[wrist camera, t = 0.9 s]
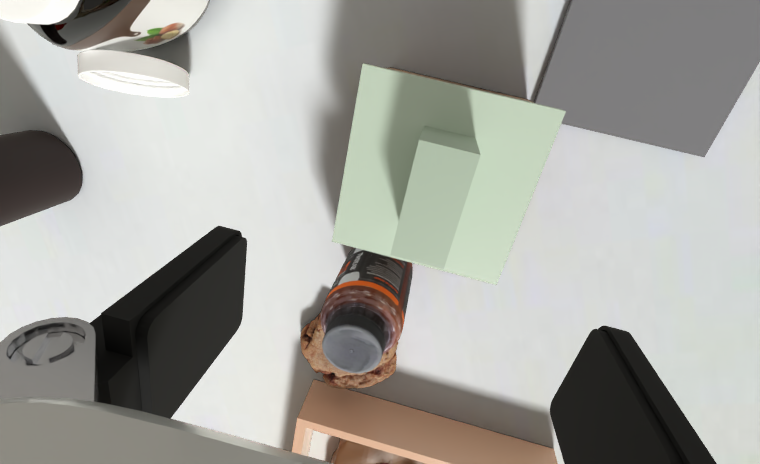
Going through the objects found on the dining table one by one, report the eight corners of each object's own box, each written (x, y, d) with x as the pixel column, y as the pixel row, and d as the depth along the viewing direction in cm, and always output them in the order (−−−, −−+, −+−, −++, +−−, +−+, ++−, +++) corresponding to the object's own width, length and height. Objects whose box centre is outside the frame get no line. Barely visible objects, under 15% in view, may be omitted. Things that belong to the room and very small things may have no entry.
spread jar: (179, -119, 26) (-5, -238, 15) (268, 50, 29) (166, 45, 19) (65, -20, 30) (-146, -62, 19) (155, 119, 33) (18, 148, 23)
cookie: (410, 305, 37) (407, 325, 34) (391, 387, 41) (386, 410, 39) (308, 282, 38) (297, 299, 35) (300, 365, 42) (290, 386, 39)
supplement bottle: (348, 230, 34) (305, 305, 24) (416, 238, 33) (401, 318, 23) (347, 288, 37) (307, 378, 27) (410, 296, 36) (394, 392, 26)
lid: (555, 106, 22) (591, 123, 16) (492, 267, 26) (504, 325, 21) (370, 63, 22) (343, 65, 17) (341, 227, 27) (311, 272, 21)
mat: (816, -50, 22) (825, -52, 22) (699, 155, 27) (704, 157, 27) (604, -92, 23) (607, -95, 22) (529, 115, 28) (530, 116, 28)
